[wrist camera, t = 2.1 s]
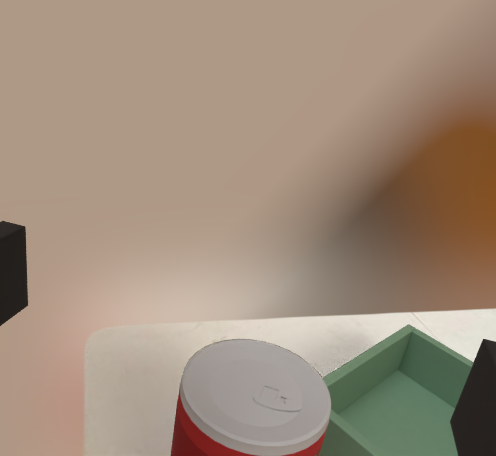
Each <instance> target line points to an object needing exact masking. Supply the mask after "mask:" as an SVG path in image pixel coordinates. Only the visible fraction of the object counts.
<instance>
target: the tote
mask: <svg viewBox="0 0 496 456" xmlns="http://www.w3.org/2000/svg"><path fill="white" fill-rule="evenodd" d="M472 365H473V362H472V361H470V360H468V359H467V358H465V357H463V356H462V355H460V354H458V353H457V352H455V351H453V350H452V349H450V348H448V347H446V346H445V345H443V344H441V343H440V342H438V341H436V340H435V339H433V338H431V337H430V336H428V335H426V334H425V333H423V332H421V331H419V330H418V329H416V328H414V327H413V326H411V325H409V324H408V325H407V326H405V327H404V328H402V329H400V330H399V331H397V332H396V333H394V334H392V335H391V336H389V337H388V338H386V339H385V340H383V341H381V342H380V343H378V344H377V345H375V346H373V347H372V348H370V349H369V350H367V351H365V352H364V353H362V354H361V355H359V356H357V357H356V358H354V359H353V360H351V361H349V362H348V363H346V364H345V365H343V366H341V367H340V368H338V369H337V370H335V371H333V372H332V373H330V374H329V375H327V376H325V377H324V378H322V379H323V380H324V382H325V383H326V386H327V388H328V390H329V393H330V398H331V411H330V417H329V423H328V427H327V430H326V433H325V438H324V441H323V444H322V447H321V450H320V453H319V456H458V453H457V449H456V445H455V441H454V436H453V432H452V428H451V424H450V420H451V417H452V415H453V412H454V410H455V407H456V405H457V403H458V400H459V398H460V395H461V393H462V390H463V388H464V385H465V383H466V380H467V378H468V375H469V373H470V370H471V368H472Z"/></svg>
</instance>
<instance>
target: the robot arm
mask: <svg viewBox="0 0 496 456" xmlns="http://www.w3.org/2000/svg"><path fill="white" fill-rule="evenodd" d="M26 262H27V261H26V232H25V226H21V225H17V224H13V223H9V222H5V221H2V222H0V326H1V325H2V324H4V323H5V322H6V321H8V320H9V319H10V318H12V317H13V316H14V315H16V314H17V313H18V312H20V311H21V310H22V309H24V308H25V307H26V306H28V295H27V293H28V292H27V263H26ZM450 424H451V428H452V432H453V436H454V441H455V445H456V449H457V453H458V456H496V342H494V341H490V340H486V339H483V341H482V343H481V346H480V348H479V351H478V353H477V356H476V358H475V361H474V363H473V365H472V368H471V370H470V373H469V375H468V378H467V380H466V383H465V385H464V388H463V390H462V393H461V395H460V398H459V400H458V403H457V405H456V407H455V410H454V412H453V415H452V417H451V420H450Z"/></svg>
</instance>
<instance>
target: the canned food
mask: <svg viewBox="0 0 496 456" xmlns="http://www.w3.org/2000/svg"><path fill="white" fill-rule="evenodd" d="M330 411H331V398H330V393H329V390H328V388H327V386H326V383H325V382H324V380H323V379H322V377H321V376H320V374H319V373H318V372H317V371H316V370H315V369H314V368H313V367H312V366H311V365H310V364H309V363H308V362H306V361H305V360H304V359H302V358H301V357H300V356H298V355H296V354H294V353H292V352H291V351H289V350H287V349H284V348H282V347H280V346H277V345H274V344H270V343H267V342H263V341H257V340H250V339H232V340H224V341H220V342H216V343H213V344H211V345H208V346H206V347H204V348H202V349H201V350H199V351H198V352H196V353H195V354H194V355H193V356H192V357H191V358H190V359H189V361H188V363H187V365H186V366H185V368H184V372H183V375H182V379H181V383H180V388H179V396H178V401H177V409H176V417H175V425H174V433H173V441H172V449H171V456H319V453H320V450H321V447H322V444H323V441H324V438H325V433H326V430H327V427H328V423H329V417H330Z"/></svg>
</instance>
